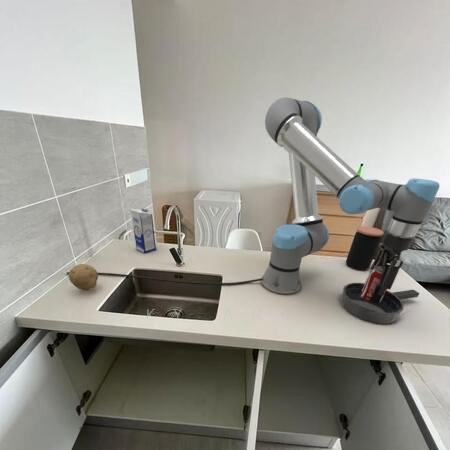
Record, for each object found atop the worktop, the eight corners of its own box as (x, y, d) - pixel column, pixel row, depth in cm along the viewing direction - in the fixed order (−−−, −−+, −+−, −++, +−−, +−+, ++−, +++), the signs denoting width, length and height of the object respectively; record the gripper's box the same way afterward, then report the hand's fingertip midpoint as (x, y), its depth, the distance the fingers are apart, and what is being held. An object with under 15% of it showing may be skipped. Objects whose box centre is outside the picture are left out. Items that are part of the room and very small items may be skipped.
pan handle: (392, 301, 88) (394, 296, 87) (386, 297, 90) (388, 293, 89) (417, 297, 91) (419, 293, 90) (411, 293, 93) (413, 289, 93)
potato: (81, 282, 93) (74, 258, 88) (105, 283, 93) (99, 259, 88) (68, 295, 85) (60, 270, 80) (94, 296, 85) (87, 271, 80)
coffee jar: (374, 270, 114) (389, 233, 105) (355, 272, 111) (369, 234, 102) (357, 260, 123) (370, 225, 113) (340, 262, 120) (352, 226, 111)
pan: (366, 328, 78) (371, 317, 75) (328, 295, 94) (332, 285, 91) (411, 320, 83) (417, 309, 80) (368, 289, 99) (372, 280, 96)
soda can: (382, 306, 83) (398, 276, 77) (362, 303, 84) (375, 273, 78) (376, 295, 89) (390, 266, 83) (357, 292, 90) (369, 263, 84)
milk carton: (136, 249, 121) (130, 208, 110) (147, 245, 125) (143, 206, 115) (144, 253, 117) (139, 211, 107) (156, 249, 121) (152, 209, 111)
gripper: (428, 248, 65) (391, 315, 77) (401, 226, 81) (375, 284, 94) (397, 244, 66) (366, 310, 79) (377, 223, 83) (354, 280, 95)
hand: (371, 296), depth 86 cm, fingers closed on soda can, 7 cm apart
